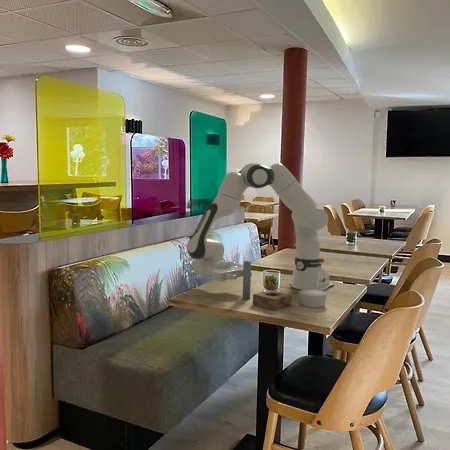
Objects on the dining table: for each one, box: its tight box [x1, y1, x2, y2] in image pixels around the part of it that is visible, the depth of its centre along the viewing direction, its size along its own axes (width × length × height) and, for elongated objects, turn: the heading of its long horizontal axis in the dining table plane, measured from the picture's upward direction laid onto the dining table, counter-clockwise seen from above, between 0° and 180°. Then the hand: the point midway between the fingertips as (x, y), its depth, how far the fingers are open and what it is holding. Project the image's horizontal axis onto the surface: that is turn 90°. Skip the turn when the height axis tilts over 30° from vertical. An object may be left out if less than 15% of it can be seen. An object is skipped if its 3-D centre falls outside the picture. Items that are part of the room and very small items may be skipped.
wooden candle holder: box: [252, 289, 293, 312], centre depth 186 cm, size 11×11×4 cm
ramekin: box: [298, 289, 328, 309], centre depth 189 cm, size 11×11×5 cm
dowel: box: [242, 260, 252, 300], centre depth 195 cm, size 3×3×16 cm
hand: (243, 276), depth 197 cm, fingers open, 8 cm apart
